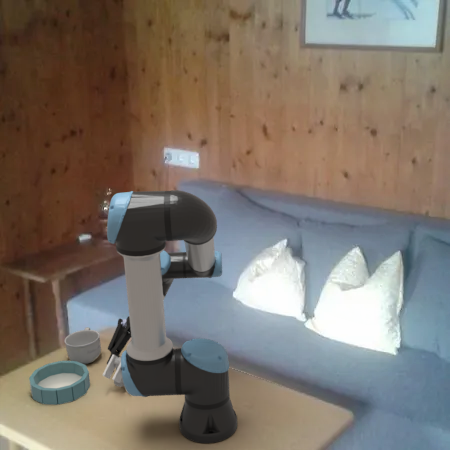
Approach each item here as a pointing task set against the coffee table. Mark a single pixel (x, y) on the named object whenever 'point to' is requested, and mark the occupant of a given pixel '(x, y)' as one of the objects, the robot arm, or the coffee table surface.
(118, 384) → the rook chess piece
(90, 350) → the teacup
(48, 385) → the dish
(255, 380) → the coffee table surface
